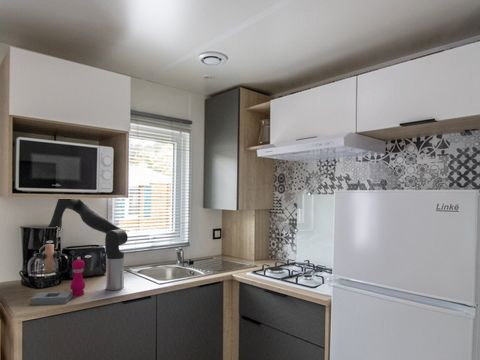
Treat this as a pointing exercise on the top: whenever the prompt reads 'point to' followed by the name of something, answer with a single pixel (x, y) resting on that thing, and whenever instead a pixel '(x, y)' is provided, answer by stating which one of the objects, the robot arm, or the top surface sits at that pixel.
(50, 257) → the dowel
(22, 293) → the top surface
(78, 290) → the pepper mill
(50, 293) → the socket block
